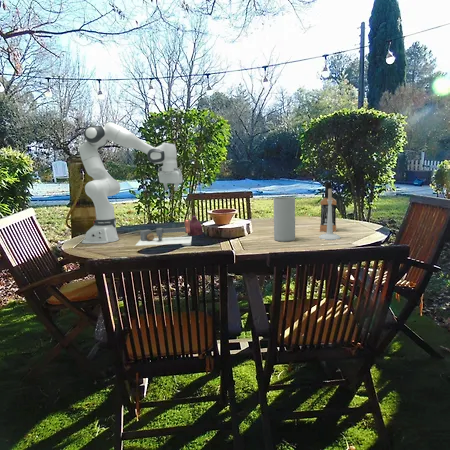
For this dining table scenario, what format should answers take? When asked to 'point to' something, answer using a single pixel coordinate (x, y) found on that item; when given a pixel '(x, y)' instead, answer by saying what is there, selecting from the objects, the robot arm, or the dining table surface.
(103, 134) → the robot arm
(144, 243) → the board
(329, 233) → the candlestick
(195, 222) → the vegetable
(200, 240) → the dining table surface
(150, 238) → the brown ball
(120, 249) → the dining table surface
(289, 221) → the cylinder vase
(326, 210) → the whiskey bottle
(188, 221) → the lever
